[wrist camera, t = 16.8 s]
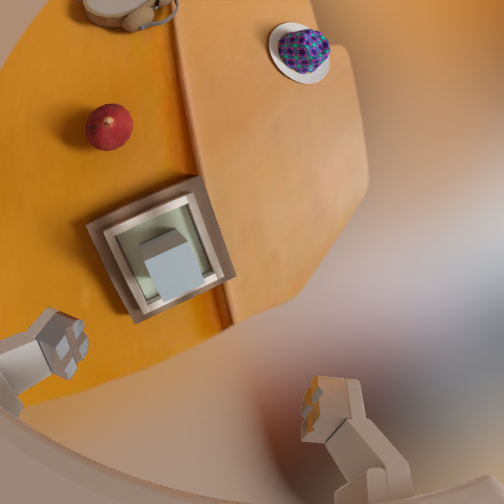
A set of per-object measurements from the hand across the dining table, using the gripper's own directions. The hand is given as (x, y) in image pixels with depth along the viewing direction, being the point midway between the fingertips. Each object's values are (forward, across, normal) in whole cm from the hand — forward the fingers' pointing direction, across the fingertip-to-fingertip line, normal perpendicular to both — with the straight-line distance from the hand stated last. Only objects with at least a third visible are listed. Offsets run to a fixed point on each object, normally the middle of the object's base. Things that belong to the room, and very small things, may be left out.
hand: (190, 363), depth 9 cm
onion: (+28, +20, -3) cm, 35 cm away
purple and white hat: (+46, -2, -18) cm, 49 cm away
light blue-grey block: (+25, +10, +12) cm, 29 cm away
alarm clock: (+33, +23, -22) cm, 46 cm away
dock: (+28, +11, +13) cm, 33 cm away
